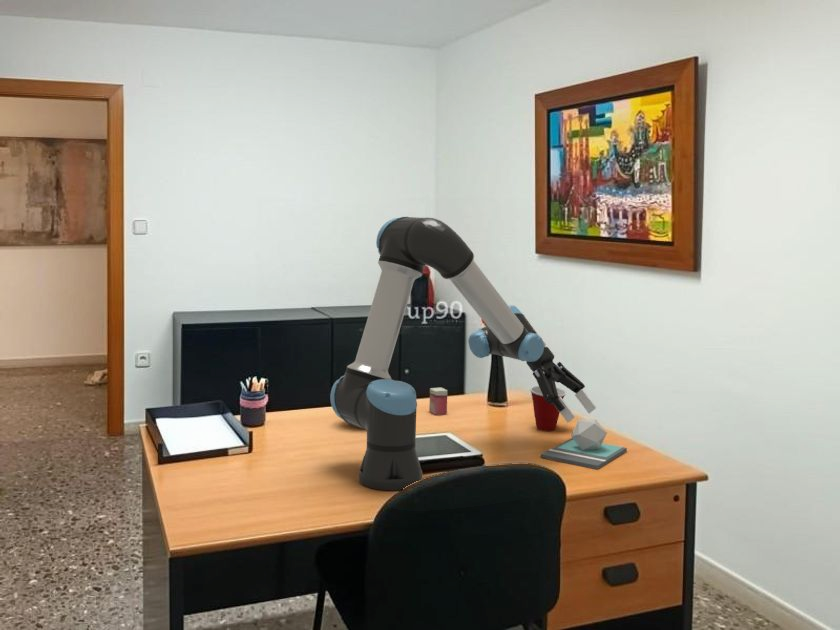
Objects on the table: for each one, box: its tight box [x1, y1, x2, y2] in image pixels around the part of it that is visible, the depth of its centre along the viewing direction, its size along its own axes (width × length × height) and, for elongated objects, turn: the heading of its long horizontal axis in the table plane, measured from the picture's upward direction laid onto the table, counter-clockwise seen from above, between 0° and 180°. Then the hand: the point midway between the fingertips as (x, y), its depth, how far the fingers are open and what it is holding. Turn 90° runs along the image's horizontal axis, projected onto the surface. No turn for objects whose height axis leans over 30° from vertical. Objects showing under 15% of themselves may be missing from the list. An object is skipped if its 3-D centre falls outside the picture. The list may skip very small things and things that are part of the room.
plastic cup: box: [529, 385, 567, 432], centre depth 242 cm, size 11×11×12 cm
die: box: [571, 418, 608, 450], centre depth 219 cm, size 8×9×10 cm
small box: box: [428, 387, 448, 416], centre depth 259 cm, size 5×4×8 cm
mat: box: [539, 437, 628, 470], centre depth 217 cm, size 20×16×1 cm
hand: (582, 415), depth 220 cm, fingers open, 13 cm apart
